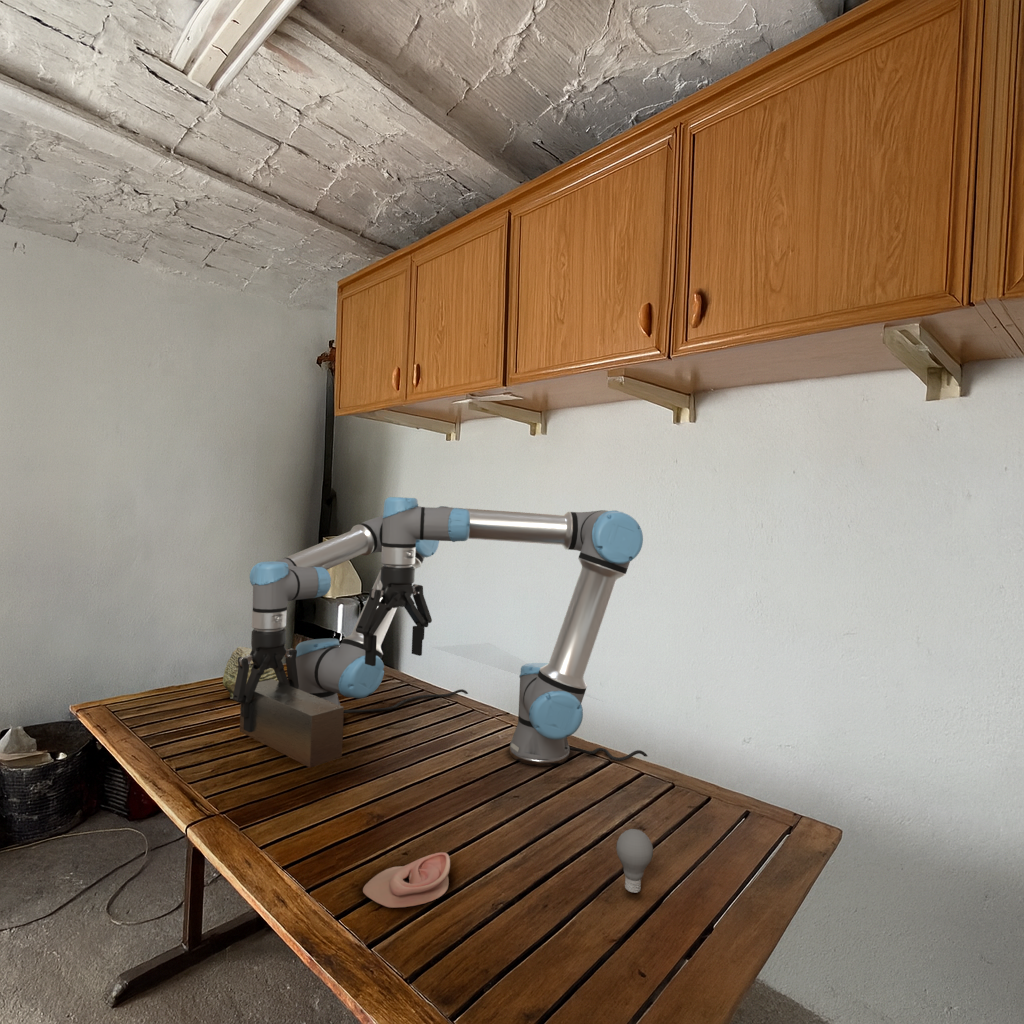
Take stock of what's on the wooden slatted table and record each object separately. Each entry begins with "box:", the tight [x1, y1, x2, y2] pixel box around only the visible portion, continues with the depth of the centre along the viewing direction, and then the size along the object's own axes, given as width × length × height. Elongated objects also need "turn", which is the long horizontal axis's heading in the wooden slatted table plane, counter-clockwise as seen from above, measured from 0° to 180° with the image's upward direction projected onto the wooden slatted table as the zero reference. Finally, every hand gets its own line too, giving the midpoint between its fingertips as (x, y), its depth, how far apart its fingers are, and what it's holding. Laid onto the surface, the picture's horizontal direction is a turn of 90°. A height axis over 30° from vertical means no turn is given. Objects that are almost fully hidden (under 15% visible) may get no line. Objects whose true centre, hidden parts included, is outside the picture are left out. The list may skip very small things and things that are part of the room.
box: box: [239, 679, 345, 768], centre depth 141 cm, size 28×8×11 cm, turn 51°
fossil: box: [222, 646, 279, 699], centre depth 198 cm, size 9×18×15 cm, turn 132°
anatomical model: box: [362, 851, 451, 909], centre depth 104 cm, size 13×4×12 cm
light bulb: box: [615, 828, 654, 894], centre depth 106 cm, size 6×6×10 cm
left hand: (265, 725), depth 148 cm, fingers closed on box, 8 cm apart
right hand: (394, 659), depth 143 cm, fingers open, 13 cm apart
